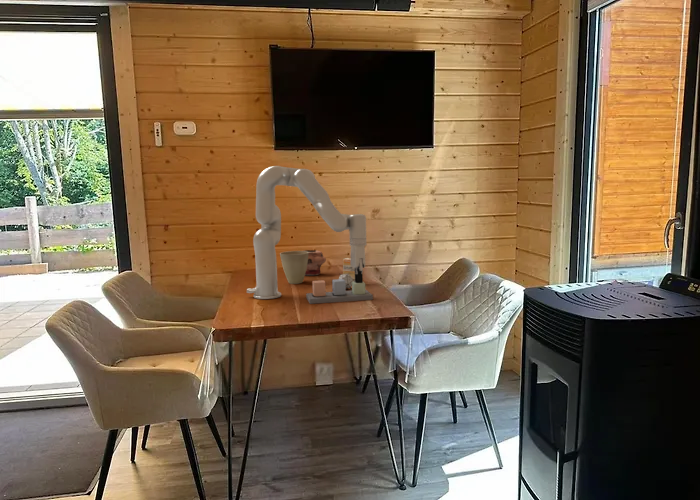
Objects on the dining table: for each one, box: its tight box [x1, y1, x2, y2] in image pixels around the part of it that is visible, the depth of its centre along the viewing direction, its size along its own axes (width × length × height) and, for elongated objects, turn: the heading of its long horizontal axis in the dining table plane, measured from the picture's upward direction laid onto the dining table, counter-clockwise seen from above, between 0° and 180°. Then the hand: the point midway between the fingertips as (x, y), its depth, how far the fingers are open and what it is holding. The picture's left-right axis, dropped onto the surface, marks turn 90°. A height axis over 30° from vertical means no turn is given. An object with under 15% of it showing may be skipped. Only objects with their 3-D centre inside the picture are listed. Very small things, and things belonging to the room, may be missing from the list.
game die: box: [338, 272, 355, 290], centre depth 239 cm, size 9×8×10 cm
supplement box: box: [342, 257, 355, 282], centre depth 252 cm, size 8×5×13 cm, turn 68°
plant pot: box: [279, 250, 309, 285], centre depth 257 cm, size 15×15×16 cm
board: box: [305, 289, 374, 305], centre depth 220 cm, size 28×12×2 cm, turn 103°
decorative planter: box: [304, 249, 327, 276], centre depth 280 cm, size 20×12×14 cm, turn 91°
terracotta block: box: [312, 279, 327, 296], centre depth 217 cm, size 5×5×6 cm
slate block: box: [331, 278, 347, 295], centre depth 219 cm, size 5×5×6 cm
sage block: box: [351, 281, 366, 295], centre depth 221 cm, size 5×5×6 cm
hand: (358, 282), depth 221 cm, fingers closed
